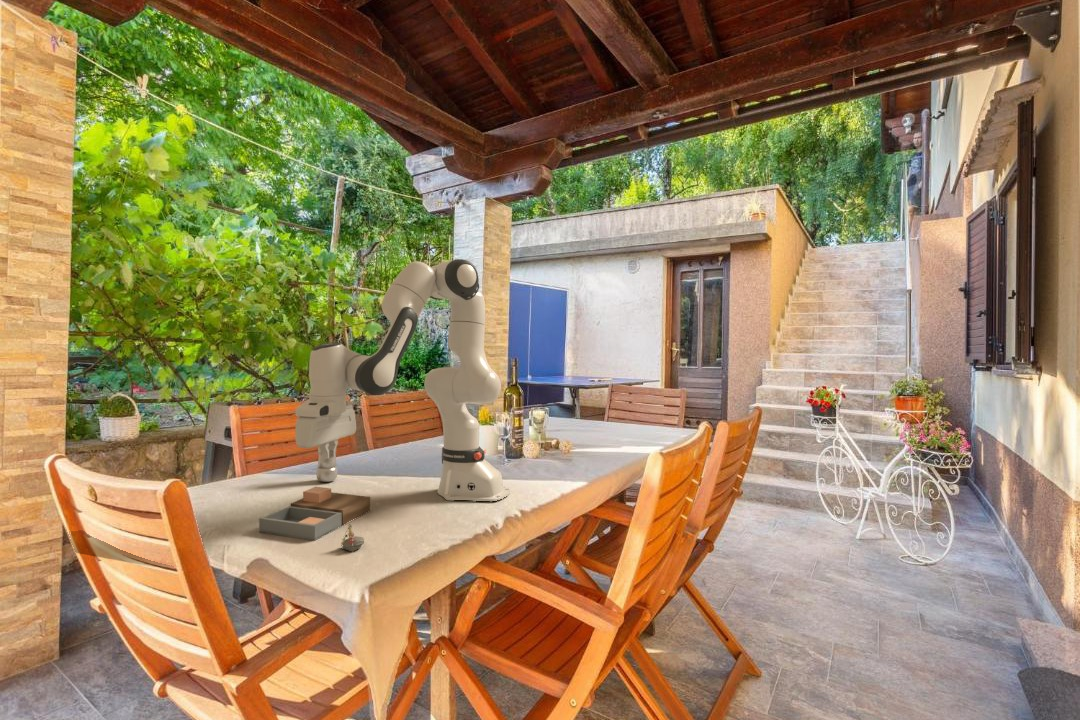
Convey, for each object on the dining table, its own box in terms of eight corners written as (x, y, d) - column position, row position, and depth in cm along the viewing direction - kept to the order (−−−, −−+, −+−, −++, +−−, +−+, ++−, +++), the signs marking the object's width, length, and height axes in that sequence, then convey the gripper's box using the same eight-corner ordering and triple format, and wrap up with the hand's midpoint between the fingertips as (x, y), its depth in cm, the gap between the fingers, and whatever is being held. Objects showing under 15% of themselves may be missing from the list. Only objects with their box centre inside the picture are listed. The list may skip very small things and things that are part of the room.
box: (341, 526, 135) (341, 512, 135) (314, 540, 125) (314, 526, 125) (288, 519, 139) (288, 506, 139) (259, 532, 130) (259, 518, 130)
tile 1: (331, 497, 146) (331, 488, 145) (319, 502, 141) (319, 493, 141) (315, 495, 147) (315, 486, 147) (303, 500, 142) (303, 491, 142)
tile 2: (311, 526, 127) (311, 536, 127) (326, 519, 131) (326, 529, 131) (295, 523, 128) (295, 533, 128) (309, 516, 133) (309, 526, 133)
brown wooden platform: (369, 511, 147) (370, 496, 147) (342, 525, 136) (342, 510, 135) (320, 504, 151) (320, 491, 151) (290, 518, 140) (290, 503, 140)
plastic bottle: (328, 477, 180) (328, 419, 179) (341, 480, 176) (342, 421, 175) (311, 482, 174) (312, 421, 173) (325, 485, 171) (325, 423, 170)
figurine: (367, 543, 124) (362, 519, 123) (363, 552, 119) (359, 526, 119) (343, 548, 123) (339, 523, 122) (339, 556, 119) (335, 531, 118)
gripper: (341, 399, 149) (342, 448, 150) (290, 410, 129) (291, 466, 130) (361, 400, 147) (362, 450, 148) (312, 411, 127) (313, 468, 128)
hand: (328, 457), depth 139 cm, fingers closed
